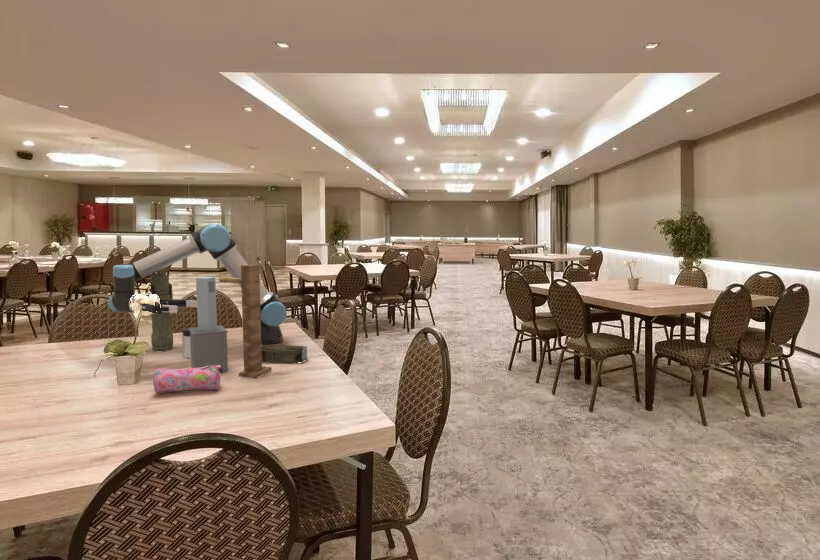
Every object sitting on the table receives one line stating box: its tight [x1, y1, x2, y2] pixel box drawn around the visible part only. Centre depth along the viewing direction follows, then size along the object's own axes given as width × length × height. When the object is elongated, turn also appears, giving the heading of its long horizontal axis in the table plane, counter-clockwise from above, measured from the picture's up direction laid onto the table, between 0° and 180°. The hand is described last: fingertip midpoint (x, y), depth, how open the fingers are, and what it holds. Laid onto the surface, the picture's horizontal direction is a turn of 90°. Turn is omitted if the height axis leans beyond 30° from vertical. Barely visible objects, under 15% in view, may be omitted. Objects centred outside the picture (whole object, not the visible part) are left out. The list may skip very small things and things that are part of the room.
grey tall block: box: [195, 276, 218, 331], centre depth 197 cm, size 5×5×21 cm
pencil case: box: [152, 365, 223, 395], centre depth 173 cm, size 21×9×9 cm, turn 105°
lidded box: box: [188, 325, 229, 373], centre depth 199 cm, size 13×13×16 cm
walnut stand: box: [218, 264, 273, 378], centre depth 193 cm, size 18×10×42 cm, turn 75°
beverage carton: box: [261, 344, 308, 364], centre depth 212 cm, size 8×19×7 cm, turn 87°
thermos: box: [146, 272, 174, 352], centre depth 229 cm, size 9×12×35 cm
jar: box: [181, 326, 198, 359], centre depth 219 cm, size 9×8×12 cm
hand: (189, 306), depth 199 cm, fingers open, 13 cm apart
